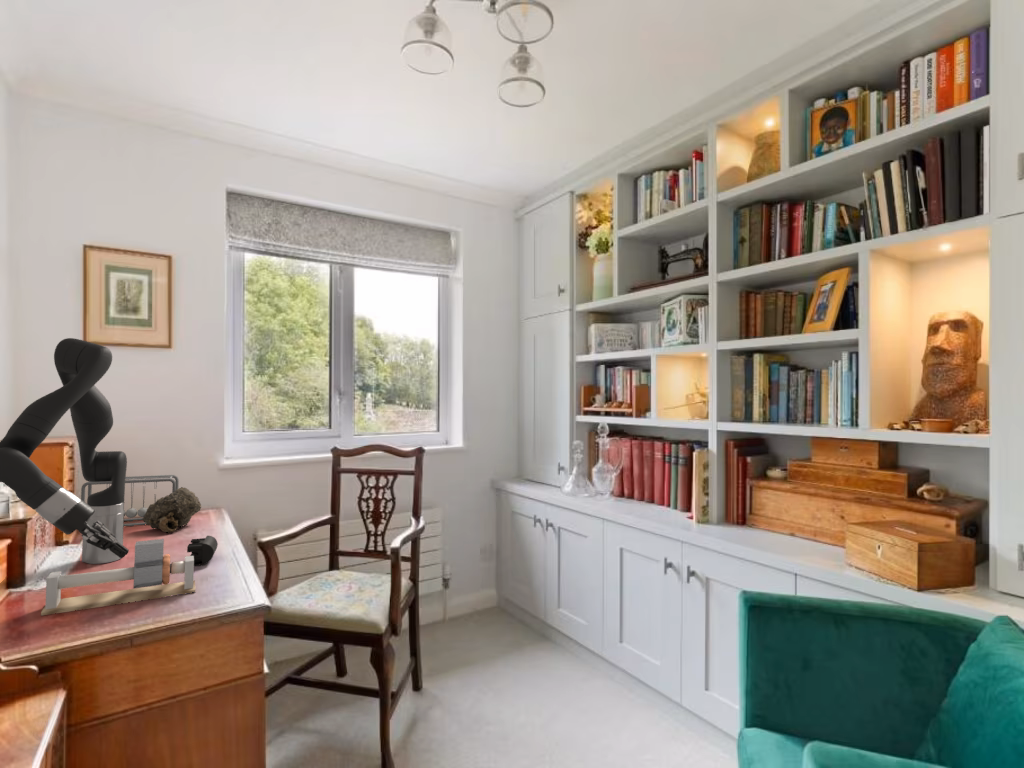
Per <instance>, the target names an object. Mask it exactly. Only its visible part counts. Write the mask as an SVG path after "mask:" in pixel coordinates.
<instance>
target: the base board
mask: <svg viewBox="0 0 1024 768" xmlns="http://www.w3.org/2000/svg"><path fill="white" fill-rule="evenodd" d="M192 592H195V593H196V580H194V579H193V588H191V589H184V581H181V582H174V583H168V584H162V585H156V586H149V587H142V588H134V589H133V588H131V589H122V590H117V591H108V592H101V593H93V594H87V595H86V594H85V595H80V596H72V597H64V598H60V602H59V604H58V606H57V608H52V609H46V610H45V606H44V607H43V608H42V610H41V612H40V616H47V615H54V614H55V613H56V614H61V613H68V612H69V613H70V612H74V611H75V610H76V611H83V610H88V609H95V608H101V607H108V606H116V605H122V604H121V603H123V604H128V602H130V603H135V601H136V602H142V601H141V600H143V601H148V599H150V600H155V599H154V598H157V599H161V598H160V597H163V598H166V597H165V596H170V597H172V596H171V595H177V594H183V595H186V594H185V593H190V594H193V593H192ZM177 596H178V595H177ZM115 604H116V605H115ZM82 609H83V610H82Z"/></svg>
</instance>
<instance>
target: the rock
mask: <svg viewBox="0 0 1024 768" xmlns="http://www.w3.org/2000/svg"><path fill="white" fill-rule="evenodd" d="M201 508H202V504H201V501H200V500H199V498H198V496H196V493H195V492H194V491H191V490H190V489H188V488H186V487H182V486H181V487H180V488H179V487H178V489H176V490H175V491H174V492H173V493H172V492H171V493H169V494H168V495H165V496H164V497H160V498H156V502H155V501H154V503H152V504H150V505H149V506H148V507H147V511H146V514H145V515H144V517H142V518H143V521H142V522H143V523H146V525H145V526H150V528H151V529H152V528H155V530H156V529H157V530H161V531H162V532H165V533H166V532H168V533H167V534H170V532H173V533H174V532H176V531H177V530H178V527H179V528H181V527H180V526H183V525H184V526H187V525H188V524H189V523H190V521H191V519H192V517H193V516H194V515H196V514H197V513H198V512H200V511H201V510H202V509H201ZM177 526H178V527H177ZM184 526H183V527H184Z"/></svg>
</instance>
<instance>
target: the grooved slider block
mask: <svg viewBox="0 0 1024 768" xmlns="http://www.w3.org/2000/svg"><path fill="white" fill-rule="evenodd" d="M164 542H165V540H164V538H160V539H150V540H140V541H135V544H134V564H133V567H134V579H133V588H132V589H136V588H143V587H150V586H158V585H163V583H162V567H163V556H164V546H165V545H164V544H165V543H164Z"/></svg>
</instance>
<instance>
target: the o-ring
mask: <svg viewBox="0 0 1024 768" xmlns="http://www.w3.org/2000/svg"><path fill="white" fill-rule="evenodd" d="M170 564H171V555H170V554H169V553H165V554H163V567H162V585H165V584H170V579H171V576H170V575H171V574H170Z"/></svg>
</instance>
